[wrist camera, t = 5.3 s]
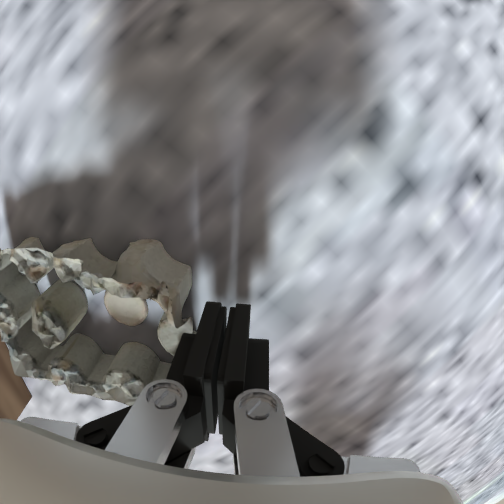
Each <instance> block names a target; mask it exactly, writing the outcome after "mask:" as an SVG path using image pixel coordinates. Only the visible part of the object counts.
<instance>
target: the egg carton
mask: <svg viewBox="0 0 504 504" xmlns="http://www.w3.org/2000/svg"><path fill="white" fill-rule="evenodd" d="M53 268H55V271H56V273H57V276H58V277H59V279H60V280H57V281H56V282H55V283H54V284H53V285H52V286H51V287H49V288H48V289H47V290H46V291H45V292H44V293H42V294H41V295H40V292H39V290H38V288H37V287H36V286H35V284H34V283H38V281H39V280H40V279H41V278H43V277H44V276H45V275H46V274H48V273H49V272H50V271H51V270H52V269H53ZM21 273H22V274H25V275H26V276H24V275H22V274H21ZM72 280H74V281H75V282H76V283H77V284H79V285H80V286H81V287H82V288H86V289H90V290H91V291H92V293H93V295H94V294H97V293H99V292H101V291H103V290H107V291H106V292H105V296H104V304H105V306H106V309H107V311H108V312H109V314H110V315H111V316H112V317H113V318H114V319H115V320H116V321H118V322H120V323H122V324H125V325H128V326H136V325H139V324H141V323H142V322H143V321H144V320H145V318H146V317H147V314H148V305H147V302H146V300H145V299H148V298H150V300H151V299H152V300H154V301H156V302H157V303H159V305H160V306H161V307H162V309H163V310H164V311H165V312H164V314H163V316H162V318H161V320H160V322H159V326H158V329H157V335H158V339H159V341H160V343H161V345H162V346H163V347H164V349H165V350H166V351H167V352H169V353H170V354H171V355H173V356H174V355H175V353H176V350H177V347H178V345H179V342H180V339H181V336H182V334H183V333H192V334H196V331H193V324H192V317H189V318H186V319H182V317H181V310H182V308H183V305H184V303H185V300H186V298H187V296H188V295H189V291H190V289H191V286H192V271H191V267H190V266H188V265H186V264H183V263H181V262H178V261H176V260H175V259H173V258H172V257H170V255H169V254H168V253H167V252H166V251H165V249H164V247H163V245H162V243H161V242H160V241H157V240H154V239H140V240H137V241H136V242H130V246H129V247H128V248H127V250H126V251H124V252H123V253H122V254H121V256H120V258H119V259H118V261H112V260H109V259H107V258H106V257H104V256H103V255H102V254H101V253H100V252H99V251H98V250H97V249H96V247H95V246H94V244H93V241H92V239H91V238H87V239H83V240H79V241H76V240H75V241H73V242H72V243H67V244H63V245H61V246H60V247H59V248H58V249H57V250H55V251H54V252H53V253H51V252H47V251H45V249H44V248H43V246H42V244H41V242H40V239H39V238H35V237H29V238H27V239H25V240H24V241H23V242H22V243H21V244H20V245H19V246H17V247H16V248H14V249H8V248H7V249H5V250H1V249H0V334H1V341H3V342H6V344H7V345H8V347H9V355H10V360H11V364H12V367H13V371H14V374H15V375H17V376H21V377H30V378H35V379H40V380H45V379H47V380H49V381H51V382H52V383H53V384H54V385H55V386H60V385H63V384H66V386H67V388H68V390H69V392H70V393H71V394H87V395H91V396H94V397H97V398H100V399H103V400H115V401H118V402H121V403H124V404H126V405H129V406H131V405H133V404H134V403H135V401H136V400H137V398H138V396H139V395H140V393H141V392H142V390H143V389H144V388H145V387H146V385H148V384H149V383H151V382H153V381H156V380H161V379H166V377H167V374H168V372H169V369H170V366H171V363H166V362H161V361H160V360H159V358H158V356H157V355H156V353H155V352H154V351H153V350H152V349H150V348H149V347H147V346H145V345H143V344H141V343H138V342H128V343H125V344H123V345H122V346H121V348H120V349H119V351H118V353H117V354H116V356H115V355H109V354H105V353H103V351H102V350H101V348H100V347H99V345H98V344H97V343H96V342H95V341H94V340H92V339H91V338H90V337H88V336H86V335H82V334H73V335H72V336H71V337H70V338H69V340H68V341H67V342H66V344H65V345H64V346H63V345H59V344H60V343H62V342H63V341H65V340H66V338H67V337H68V336H69V335H70V333H71V332H72V331H73V330H74V328H75V327H76V326H77V325H78V324H79V322H80V321H81V320H82V318H83V317H84V316H85V314H86V312H87V309H88V302H87V299H86V296H85V295H84V293H83V291H82V290H81V288H80V287H79V286H77V285H76V284H75V283H73V282H72Z"/></svg>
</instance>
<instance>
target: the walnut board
mask: <svg viewBox="0 0 504 504" xmlns="http://www.w3.org/2000/svg"><path fill="white" fill-rule="evenodd" d="M31 398H32V396H31V394H30V392H29V391H28V389H27V387H26V385H25V383H24V381H23V379H22V377H21V376H17V375H15V374H14V371H13V367H12V364H11V360H10V355H9V351H8V348H7V346H6V344H5V342H3V341H1V334H0V418H5V419H12V420H17V419H18V417H19V416H20V414H21V413H22V411H23V410H24V408H25V407H26V405H27V404H28V402H29V401H30V399H31Z"/></svg>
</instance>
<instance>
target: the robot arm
mask: <svg viewBox="0 0 504 504" xmlns="http://www.w3.org/2000/svg"><path fill="white" fill-rule="evenodd" d="M250 309H251V305H248V304H236V307H230V312H229V317H228V323H227V328H226V314H227V308H226V307H223V306H221V303H220V302H208V301H207V302H206V304H205V308H204V311H203V314H202V317H201V320H200V323H199V326H198V329H197V332H196V334H192V333H183V334H182V336H181V339H180V342H179V345H178V347H177V350H176V353H175V355H174V358H173V361H172V363H171V366H170V369H169V372H168V374H167V377H166V379H161V380H156V381H153V382H151V383H149V384H148V385H146V387H145V388H144V389H143V390H142V392H141V393H140V395H139V396H138V398H137V400H136V401H135V403H134V404H133V405H131V406H129V407H126V408H124V409H121V410H119V411H117V412H114V413H112V414H109V415H107V416H104V417H102V418H99V419H97V420H94V421H91V422H89V423H87V424H85V425H83V426H79V425H78V424H77V423H71V422H63V421H56V420H49V419H43V418H37V417H27V418H24V419H23V420H21V421H17V420H12V419H5V418H0V504H463V502H462V500H461V498H460V496H459V494H458V493H457V491H456V489H455V488H454V487H453V486H452V485H451V484H450V483H449V482H448V481H447V480H445V479H443V478H441V477H438V476H435V475H431V474H426V473H421V472H420V470H419V467H418V466H417V464H416V463H415V462H413V461H411V460H410V459H404V458H385V457H370V456H359V455H350V457H343V456H340V455H339V454H338V453H337V452H336V451H334V450H333V449H331V448H330V447H328V446H327V445H325V444H324V443H322V442H321V441H319V440H318V439H317V438H315V437H314V436H312V435H311V434H309V433H308V432H307V431H305V430H304V429H302V428H301V427H300V426H298V425H297V424H295V423H294V422H293V421H291V420H290V419H289V418H287V417H286V416H285V412H284V408H283V404H282V402H281V400H280V398H279V397H278V396H277V395H276V394H274V393H272V392H271V391H269V340H267V339H250V338H249V326H250ZM217 418H218V419H219V434H223V445H224V446H225V447H226V448H228V449H229V450H230V451H231V452H232V453H233V463H234V474H235V475H233V474H222V473H213V472H205V471H197V470H191V469H188V468H189V466H190V464H191V461H192V459H193V456H194V454H195V449H196V446H198V445H200V444H202V443H204V441H208V438H209V433H213V434H215V430H216V424H217Z"/></svg>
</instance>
